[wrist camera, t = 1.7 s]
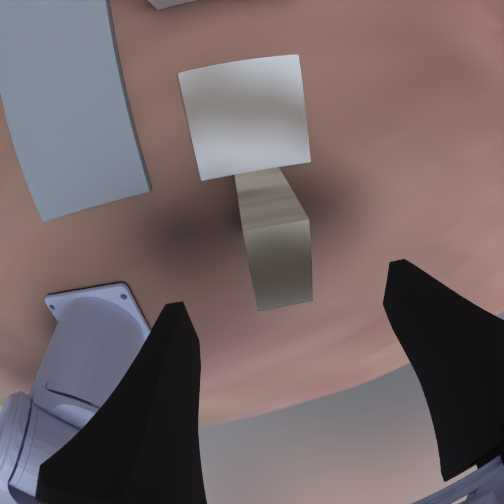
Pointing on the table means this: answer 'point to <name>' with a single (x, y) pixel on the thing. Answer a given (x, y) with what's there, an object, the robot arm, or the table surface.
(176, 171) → the table surface
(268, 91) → the turner
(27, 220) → the table surface
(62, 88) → the mat
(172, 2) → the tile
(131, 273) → the table surface
